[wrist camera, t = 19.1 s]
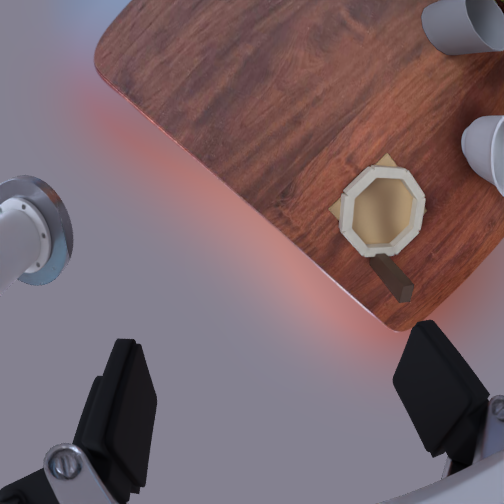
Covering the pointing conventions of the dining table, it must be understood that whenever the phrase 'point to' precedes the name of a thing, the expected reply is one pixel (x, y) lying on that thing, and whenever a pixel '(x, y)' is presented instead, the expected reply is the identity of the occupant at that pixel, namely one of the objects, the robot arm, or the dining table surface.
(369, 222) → the cork pad
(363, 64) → the dining table surface
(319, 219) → the dining table surface
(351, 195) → the ring
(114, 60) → the dining table surface
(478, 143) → the teacup
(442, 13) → the cup
